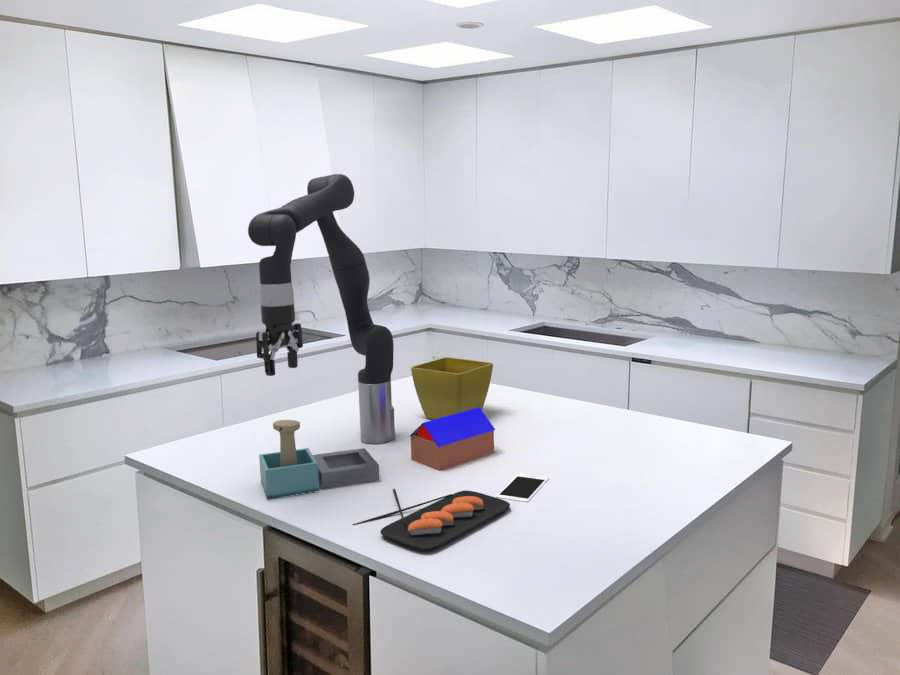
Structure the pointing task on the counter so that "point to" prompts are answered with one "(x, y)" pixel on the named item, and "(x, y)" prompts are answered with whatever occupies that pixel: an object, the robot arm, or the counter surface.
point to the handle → (287, 441)
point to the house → (453, 440)
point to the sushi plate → (441, 519)
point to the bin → (288, 474)
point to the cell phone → (522, 487)
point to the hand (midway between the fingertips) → (282, 371)
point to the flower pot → (451, 385)
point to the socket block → (346, 468)
